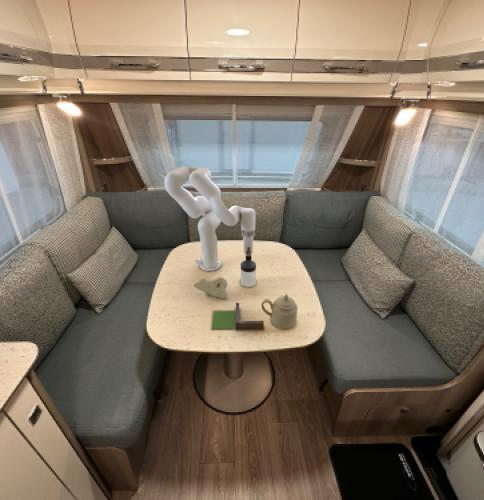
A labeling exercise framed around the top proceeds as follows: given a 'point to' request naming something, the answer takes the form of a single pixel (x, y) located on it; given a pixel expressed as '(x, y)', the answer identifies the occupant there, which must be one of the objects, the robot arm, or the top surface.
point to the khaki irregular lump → (213, 287)
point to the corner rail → (247, 323)
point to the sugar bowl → (282, 312)
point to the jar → (248, 273)
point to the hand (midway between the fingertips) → (248, 260)
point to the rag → (223, 320)
